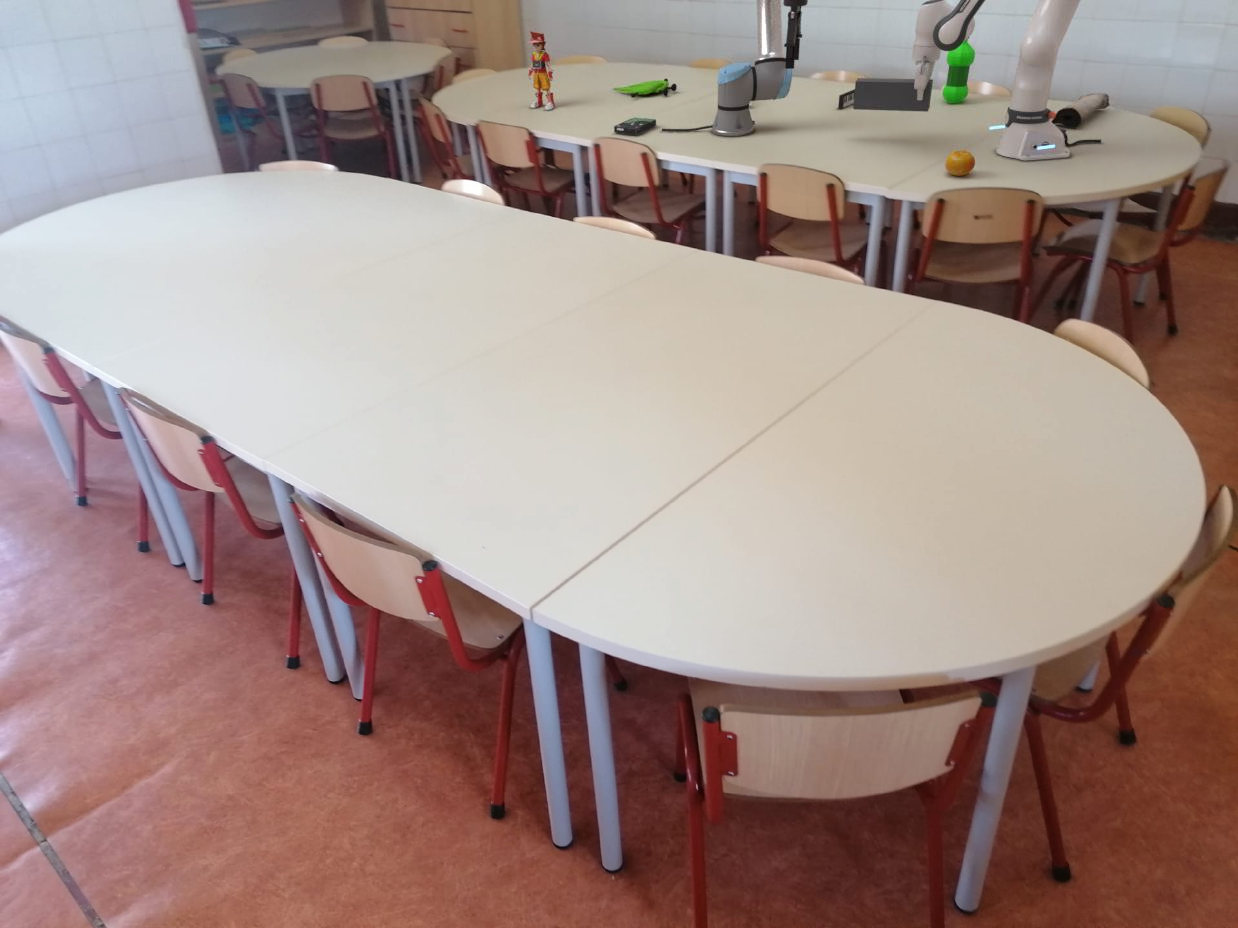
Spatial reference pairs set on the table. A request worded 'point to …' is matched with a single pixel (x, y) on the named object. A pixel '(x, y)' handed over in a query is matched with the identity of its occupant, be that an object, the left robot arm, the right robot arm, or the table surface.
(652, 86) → the toy
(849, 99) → the midi keyboard
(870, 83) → the bar
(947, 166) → the fruit
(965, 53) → the plastic bottle
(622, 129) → the disk drive
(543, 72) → the toy
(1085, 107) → the rolled mat
